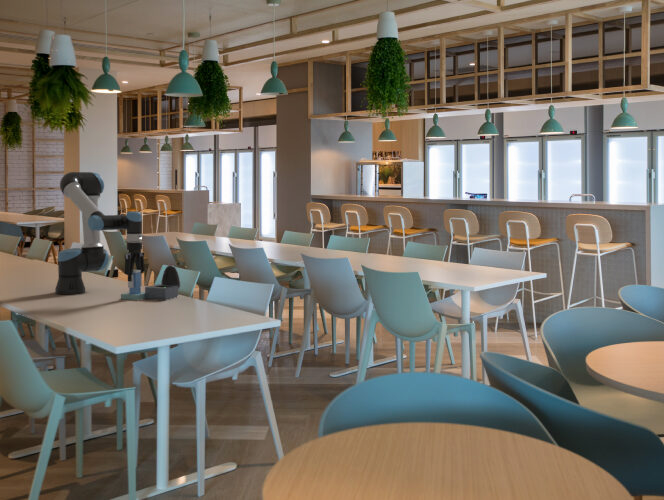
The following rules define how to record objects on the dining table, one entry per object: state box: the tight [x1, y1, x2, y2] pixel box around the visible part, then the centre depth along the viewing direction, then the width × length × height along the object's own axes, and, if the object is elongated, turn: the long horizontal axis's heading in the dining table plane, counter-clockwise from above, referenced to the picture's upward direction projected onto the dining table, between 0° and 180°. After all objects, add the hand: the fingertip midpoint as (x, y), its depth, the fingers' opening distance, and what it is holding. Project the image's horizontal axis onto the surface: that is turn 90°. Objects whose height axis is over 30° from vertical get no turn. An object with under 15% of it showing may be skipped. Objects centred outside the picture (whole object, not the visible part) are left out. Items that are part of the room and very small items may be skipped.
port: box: [144, 283, 179, 301], centre depth 357 cm, size 12×12×6 cm
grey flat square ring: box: [120, 291, 145, 301], centre depth 355 cm, size 10×10×2 cm
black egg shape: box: [160, 265, 181, 292], centre depth 372 cm, size 10×10×15 cm
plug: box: [128, 269, 142, 294], centre depth 355 cm, size 4×4×14 cm
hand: (134, 286), depth 355 cm, fingers open, 6 cm apart
